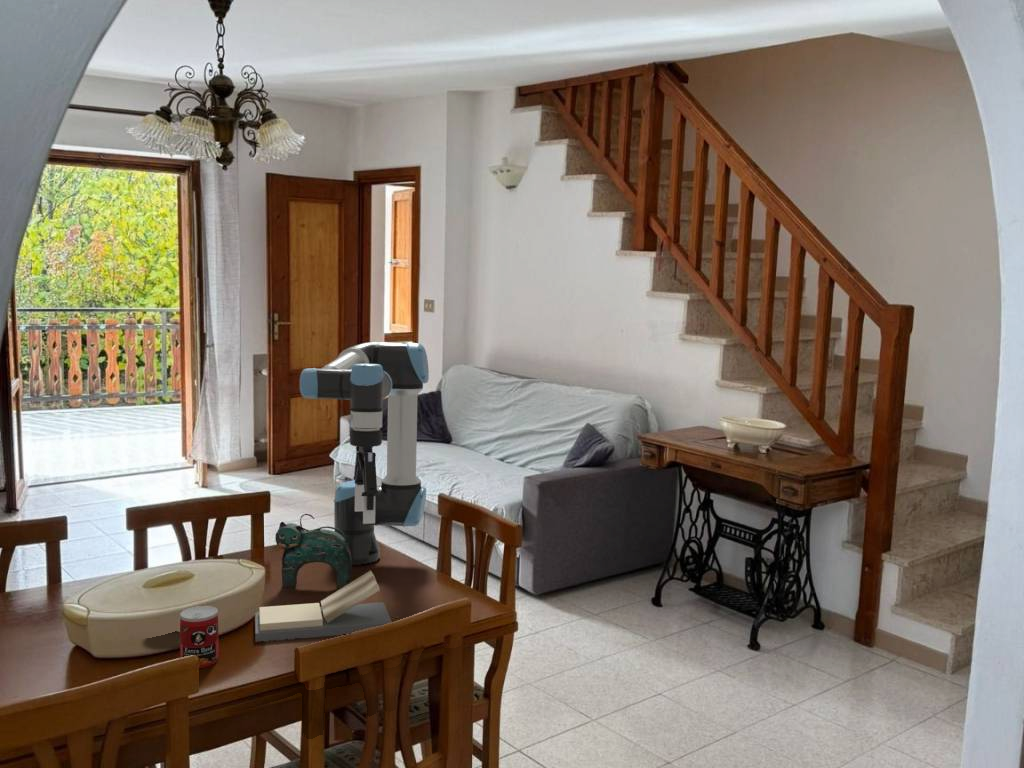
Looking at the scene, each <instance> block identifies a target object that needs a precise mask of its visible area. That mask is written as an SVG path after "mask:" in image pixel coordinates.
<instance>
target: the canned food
mask: <svg viewBox="0 0 1024 768" xmlns="http://www.w3.org/2000/svg"><path fill="white" fill-rule="evenodd" d="M179 636H180V637H179V643H180V644H179V645H180V658H181V657H184V656H190V655H197V656H198V657H199V660H200V668H199V669H204V667H205V668H208V667H210V665H211V666H213V665H214V664H216V663H217V661H218V659H219V611H218V608H217V607H215V606H211V605H205V606H195V607H191V608H188V609H185V610H183V611H182V612H181V613H180V632H179ZM212 664H213V665H212Z"/></svg>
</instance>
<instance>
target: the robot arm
mask: <svg viewBox="0 0 1024 768" xmlns="http://www.w3.org/2000/svg"><path fill="white" fill-rule="evenodd" d="M428 361H429V360H428V355H427V351H426V348H425V347H424V345H423V344H421V343H416V342H409V341H406V342H405V341H402V342H401V341H397V342H396V341H369V342H367V341H366V342H362V343H359V344H356V345H353V346H350V347H347V348H346V349H344V350H342V351H341V352H340V353H339V354H338V357H337V358H335V359H334V360H333V361H331V362H330V363H328V364H326V365H324V366H322V367H321V368H316V367H313V368H310V367H309V368H304V369H303V370H302V371H301V372H300V377H299V391H300V394H301V397H303V398H305V399H314V400H318V399H319V400H320V399H321V400H349V401H350V414H348V415H347V419H349V420H350V423H349V426H350V428H351V430H350V431H349V444H350V445H351V446H353V447H355V449H356V450H355V463H354V471H353V480H349V481H345V482H342V483H340V484H338V485H337V486H336V487H335V489H334V498H333V502H334V509H333V510H334V520H333V521H334V528H337V529H340V530H341V531H342V532H343V533H344V534H345V536H346V539H347V544H348V546H349V549H350V553H351V559H352V565H358V566H362V565H361V564H366V565H368V564H367V563H370V564H372V563H371V562H374V563H376V562H378V561H379V560H380V559H379V558H381V550H380V547H379V543H378V540H377V538H376V534H375V526H387V527H388V526H389V527H390V526H391V527H403V528H406V527H416V526H418V525H420V523H421V522H422V518H423V515H424V511H425V507H426V506H425V505H426V500H427V488H426V487H425V486H422V480H421V479H420V477H418V475H417V442H418V440H417V438H418V436H417V434H418V395H419V393H421V391H423V389H424V384H426V383H428V382H429V380H430V379H429V378H430V377H429V376H430V375H429V373H430V371H429V362H428ZM385 398H387V430H386V431H387V433H386V435H387V439H386V440H387V442H386V446H387V448H386V475H385V476H384V477H383V478H382V479H381V484H380V485H378V484H377V483H378V482H377V481H378V480H377V479H378V478H377V467H376V457H377V454H376V452H373V448H374V447H379V446H381V445H382V443H383V431H382V430H381V428H383V413H384V412H383V399H385ZM334 531H335V532H337V533H338V534H340V535H341V536H342V537H343V538H344V539H345V537H344V535H343V534H342V533H341V532H339V531H338V530H335V529H334ZM346 539H345V540H346ZM378 559H379V560H378ZM377 560H378V561H377ZM375 561H376V562H375Z"/></svg>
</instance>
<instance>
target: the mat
mask: <svg viewBox="0 0 1024 768" xmlns="http://www.w3.org/2000/svg"><path fill="white" fill-rule="evenodd" d="M320 605H321V604H320V602H313V603H312V602H311V603H300V604H299V603H298V604H286V605H270V606H260V607H258V609H259V611H256V612H257V613H255V612H254V615H255V616H254V621H255V623H254V627H255V629H254V630H255V634H254V635H255V639H254V640H255V643H261V642H260V641H264V642H272V641H273V640H276V641H285V639H288V640H296V639H295V638H300V639H308V638H309V639H310V638H311V639H312V638H322V637H332V636H333V637H334V636H344V635H343V634H347V633H352V632H355V631H359V630H363V629H367V628H371V627H376V626H381V625H384V624H387V623H390V622H392V623H393V621H392V618H391V616H390V614H389V612H388V609H387V607H386V604H385V602H383V601H382V602H381V601H380V602H369V603H368V602H367V603H359V604H357V605H355V606H354V607H352V608H351V609H349V610H347V611H346V612H344V613H343V614H341V615H339V616H338V617H336V618H335V619H333V620H332V621H330V622H328V623H327V621H326V620H325V618H324V614H323V610H322V606H320ZM269 640H271V641H269ZM257 641H259V642H257ZM273 642H274V641H273Z"/></svg>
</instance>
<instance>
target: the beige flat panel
mask: <svg viewBox="0 0 1024 768" xmlns="http://www.w3.org/2000/svg"><path fill="white" fill-rule="evenodd" d="M380 591H381V589H380V587H379V584H378V582H377V579H376V577H375V575H374V573H373V572H372V570H369V571H367V572H365V573H364V574H362V575H360V576H359V577H357V578H356V579H354V580H353V581H350V583H349V584H348V585H346V586H344V587H343V588H339V589H338V590H336V591H335V592H332V593H331V594H330V595H328V596H326V597H325V598H323V599H322V600H320V605H321V607H322V610H323V614H324V618H325V620H326V621H327V623H328V622H330V621H332V620H333V619H335V618H336V617H338V616H339V615H341V614H343V613H344V612H346V611H347V610H349V609H351V608H352V607H354V606H355V605H357V604H361V603H362V602H364V601H365V600H367V599H368V598H370V597H372V596H373V595H374V594H376V593H377V592H380Z"/></svg>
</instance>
